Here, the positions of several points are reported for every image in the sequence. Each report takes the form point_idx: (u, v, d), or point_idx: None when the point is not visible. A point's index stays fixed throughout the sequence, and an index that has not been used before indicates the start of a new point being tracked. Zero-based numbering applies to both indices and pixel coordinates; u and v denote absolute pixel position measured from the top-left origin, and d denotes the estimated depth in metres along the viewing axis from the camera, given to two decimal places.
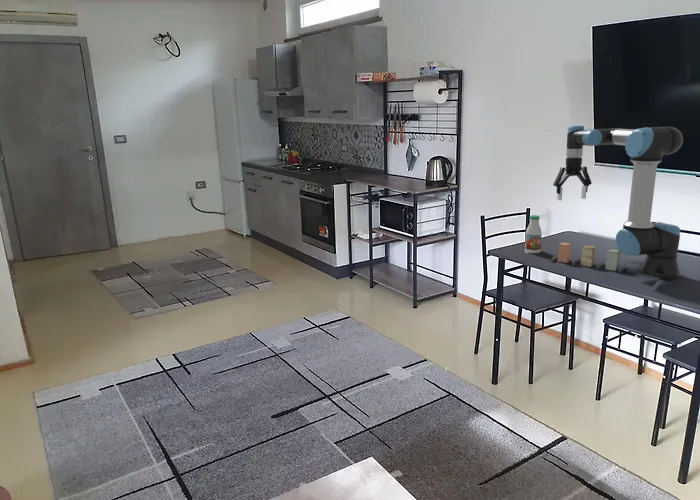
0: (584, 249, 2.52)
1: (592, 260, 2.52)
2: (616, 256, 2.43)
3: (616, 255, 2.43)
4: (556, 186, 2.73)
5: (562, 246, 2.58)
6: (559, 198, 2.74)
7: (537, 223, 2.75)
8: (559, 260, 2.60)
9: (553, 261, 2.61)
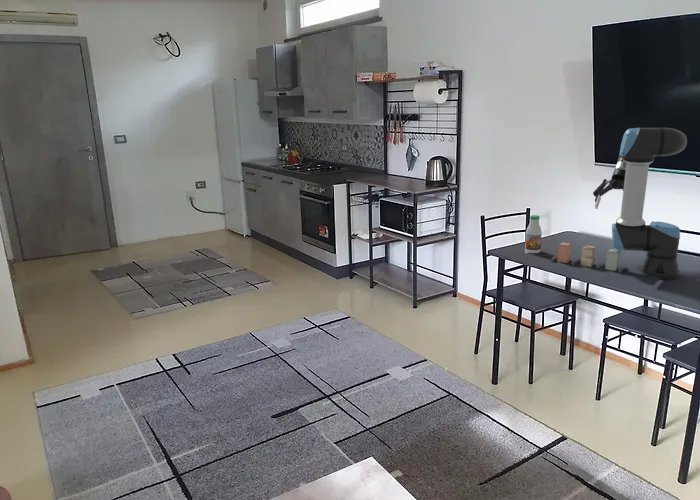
0: (584, 249, 2.52)
1: (592, 260, 2.52)
2: (616, 256, 2.43)
3: (616, 255, 2.43)
4: (595, 195, 2.68)
5: (562, 246, 2.58)
6: None
7: (537, 223, 2.75)
8: (559, 260, 2.60)
9: (553, 261, 2.61)
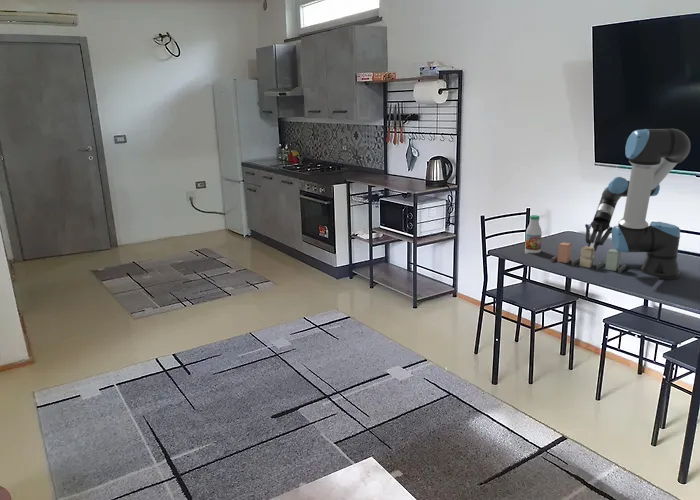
0: (583, 250, 2.50)
1: (591, 261, 2.51)
2: (616, 256, 2.43)
3: (616, 255, 2.43)
4: (588, 243, 2.59)
5: (562, 246, 2.58)
6: None
7: (537, 223, 2.75)
8: (559, 260, 2.60)
9: (553, 261, 2.61)
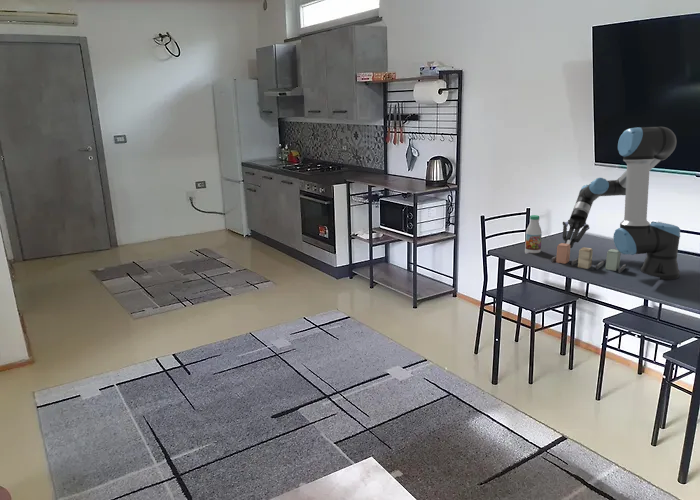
0: (581, 251, 2.49)
1: (589, 262, 2.49)
2: (616, 256, 2.43)
3: (616, 255, 2.43)
4: (565, 240, 2.66)
5: (561, 247, 2.57)
6: None
7: (537, 223, 2.75)
8: (558, 261, 2.59)
9: (553, 261, 2.61)
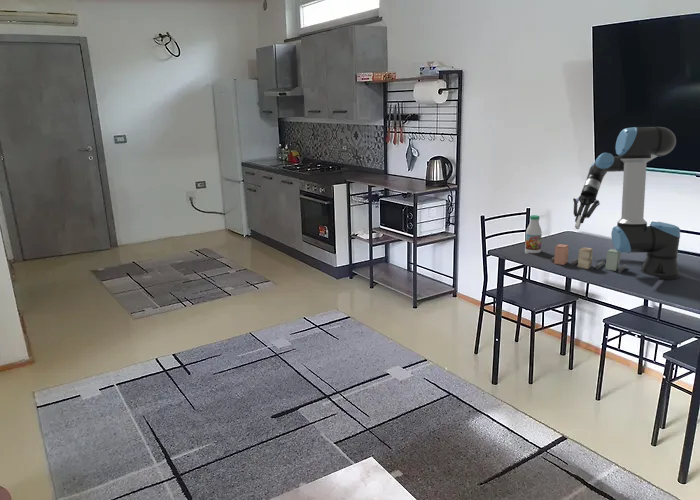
0: (581, 251, 2.49)
1: (589, 262, 2.49)
2: (616, 256, 2.43)
3: (616, 255, 2.43)
4: (576, 215, 2.73)
5: (559, 248, 2.55)
6: None
7: (537, 223, 2.75)
8: (556, 262, 2.58)
9: (553, 261, 2.61)
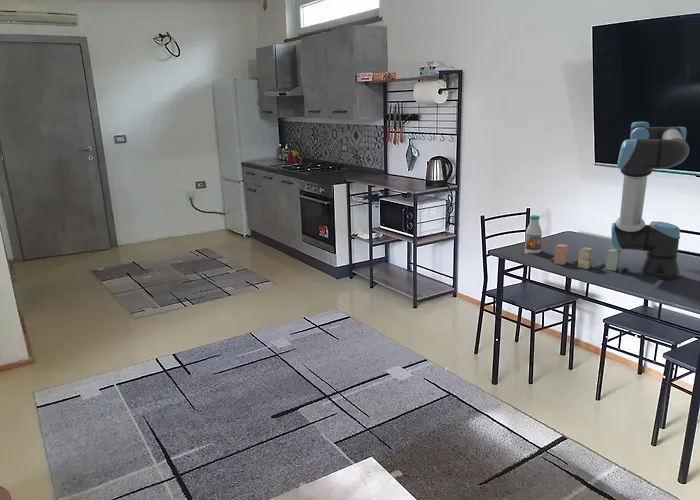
0: (581, 251, 2.49)
1: (589, 262, 2.49)
2: (616, 256, 2.43)
3: (616, 255, 2.43)
4: None
5: (559, 248, 2.55)
6: None
7: (537, 223, 2.75)
8: (556, 262, 2.58)
9: (553, 261, 2.61)
